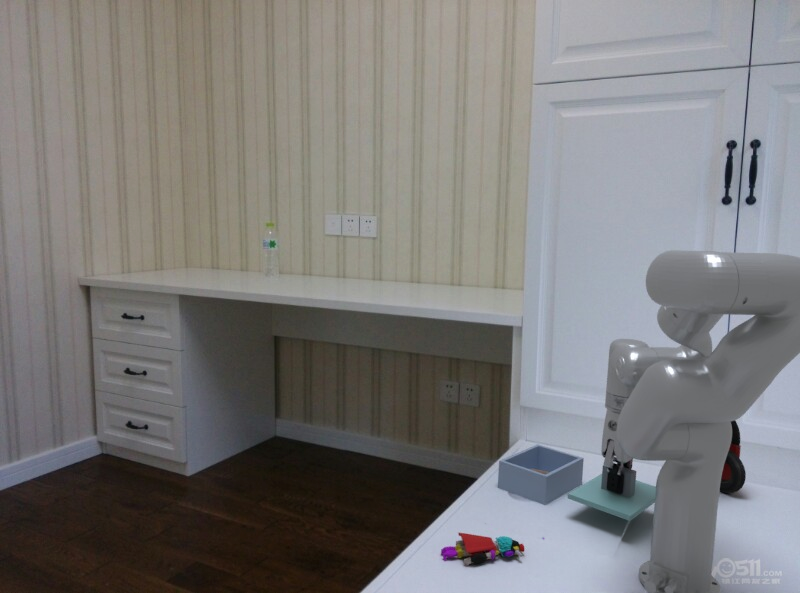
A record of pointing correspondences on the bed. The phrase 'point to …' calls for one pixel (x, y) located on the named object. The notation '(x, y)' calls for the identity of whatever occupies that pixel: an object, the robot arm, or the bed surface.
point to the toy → (482, 548)
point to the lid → (616, 495)
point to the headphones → (733, 465)
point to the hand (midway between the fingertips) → (617, 488)
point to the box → (535, 484)
